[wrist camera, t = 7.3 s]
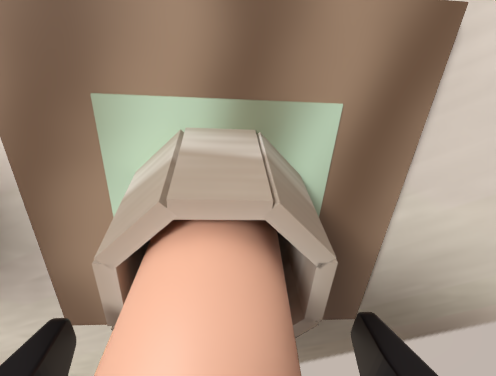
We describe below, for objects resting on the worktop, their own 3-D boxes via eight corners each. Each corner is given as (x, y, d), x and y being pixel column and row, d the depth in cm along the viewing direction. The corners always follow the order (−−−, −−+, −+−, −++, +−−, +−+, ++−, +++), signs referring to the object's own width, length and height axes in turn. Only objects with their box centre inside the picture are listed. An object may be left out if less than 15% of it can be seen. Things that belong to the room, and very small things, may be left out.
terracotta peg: (274, 160, 13) (329, 396, 5) (270, 249, 15) (305, 520, 7) (162, 161, 13) (25, 402, 5) (174, 250, 15) (94, 525, 7)
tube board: (450, 1, 11) (638, 6, 6) (349, 304, 20) (394, 415, 14) (-38, -36, 10) (-317, -69, 5) (74, 309, 18) (16, 434, 13)
